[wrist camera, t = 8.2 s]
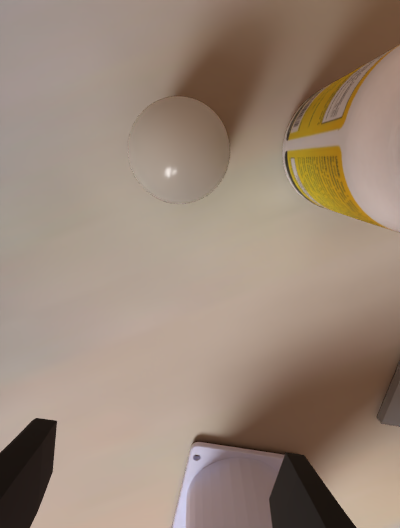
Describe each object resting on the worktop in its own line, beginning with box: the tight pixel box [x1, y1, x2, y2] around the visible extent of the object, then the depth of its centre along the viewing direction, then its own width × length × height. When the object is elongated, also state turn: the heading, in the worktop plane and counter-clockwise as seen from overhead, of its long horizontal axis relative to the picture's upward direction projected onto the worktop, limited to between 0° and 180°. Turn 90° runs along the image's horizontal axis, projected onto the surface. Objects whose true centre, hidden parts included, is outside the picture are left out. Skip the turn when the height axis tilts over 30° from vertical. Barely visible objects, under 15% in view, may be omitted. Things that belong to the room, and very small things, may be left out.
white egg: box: [128, 96, 230, 204], centre depth 15 cm, size 4×4×5 cm
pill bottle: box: [282, 45, 400, 232], centre depth 12 cm, size 6×6×11 cm
